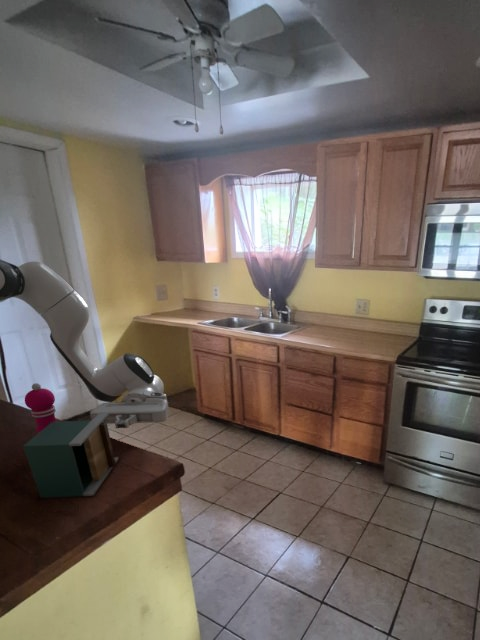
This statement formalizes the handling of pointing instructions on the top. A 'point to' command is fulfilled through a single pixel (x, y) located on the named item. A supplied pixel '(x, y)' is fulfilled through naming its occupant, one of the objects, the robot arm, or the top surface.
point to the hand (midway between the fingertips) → (121, 425)
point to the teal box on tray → (64, 459)
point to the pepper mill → (41, 406)
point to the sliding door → (99, 451)
